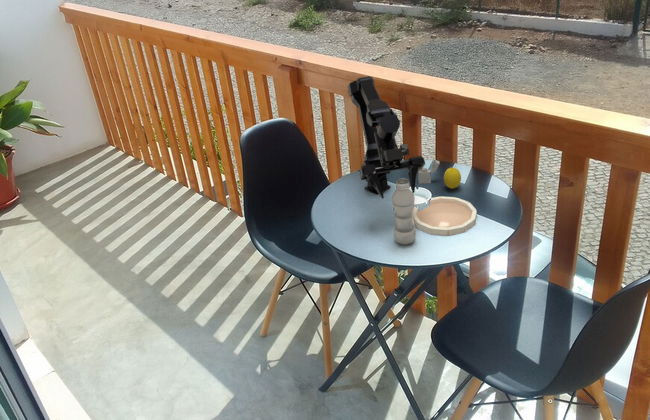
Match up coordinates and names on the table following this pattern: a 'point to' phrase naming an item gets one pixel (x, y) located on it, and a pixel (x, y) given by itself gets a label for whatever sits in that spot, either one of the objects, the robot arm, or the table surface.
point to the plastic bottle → (403, 213)
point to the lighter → (427, 173)
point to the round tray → (445, 216)
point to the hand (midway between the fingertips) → (398, 195)
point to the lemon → (452, 178)
